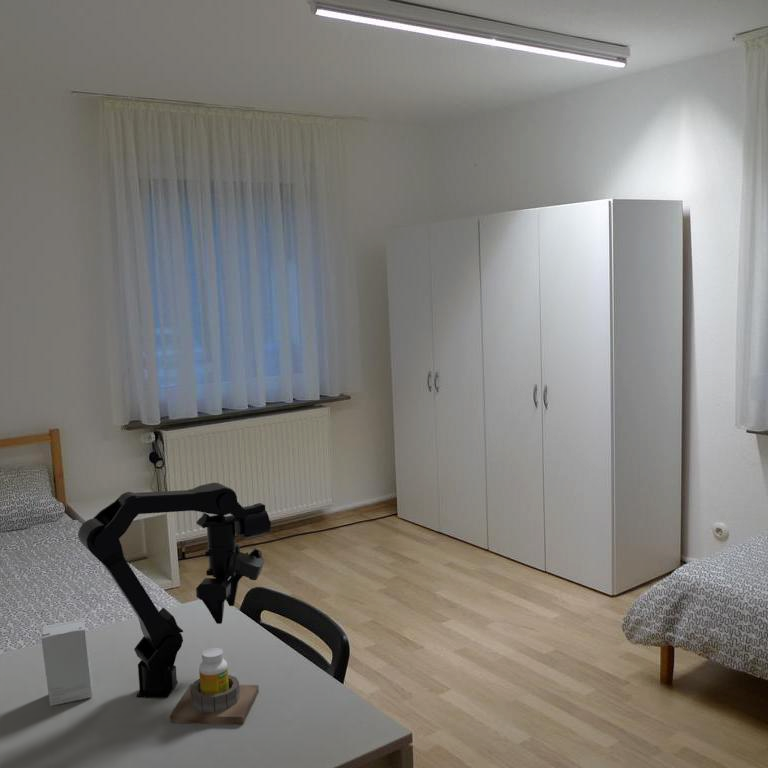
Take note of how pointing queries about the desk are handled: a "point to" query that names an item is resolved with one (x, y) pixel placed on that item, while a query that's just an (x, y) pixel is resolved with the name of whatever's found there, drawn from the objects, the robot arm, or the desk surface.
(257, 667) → the desk surface
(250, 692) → the collar board
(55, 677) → the skincare box
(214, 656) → the supplement bottle
